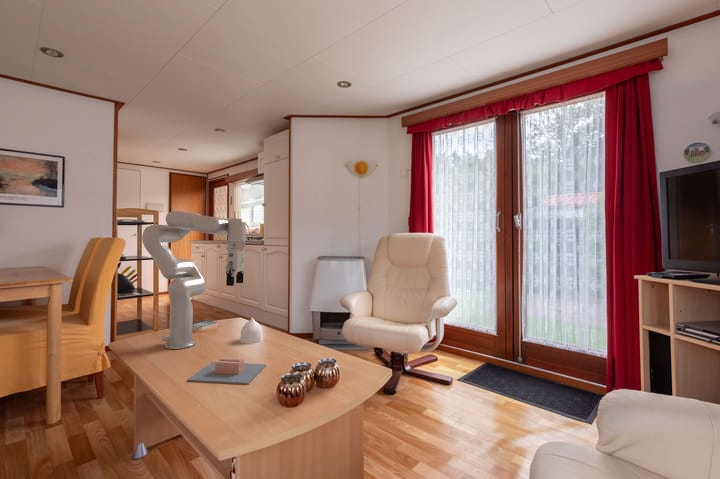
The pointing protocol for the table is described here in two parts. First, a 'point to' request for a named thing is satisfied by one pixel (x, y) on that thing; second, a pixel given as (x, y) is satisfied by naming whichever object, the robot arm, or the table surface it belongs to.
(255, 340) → the white rounded dome
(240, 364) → the pinkish tan grooved block
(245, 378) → the mat
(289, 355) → the table surface
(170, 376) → the table surface
